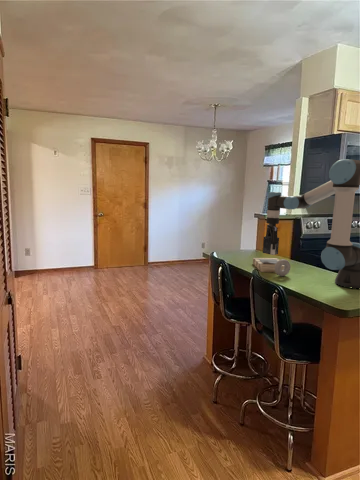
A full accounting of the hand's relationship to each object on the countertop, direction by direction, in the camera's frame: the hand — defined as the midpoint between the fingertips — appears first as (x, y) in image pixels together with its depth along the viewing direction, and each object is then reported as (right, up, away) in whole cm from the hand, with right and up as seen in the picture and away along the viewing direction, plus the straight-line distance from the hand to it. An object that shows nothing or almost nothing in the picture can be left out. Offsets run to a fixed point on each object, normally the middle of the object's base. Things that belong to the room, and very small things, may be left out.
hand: (270, 252), depth 204 cm
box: (0, -1, 0) cm, 1 cm away
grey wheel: (+2, -13, -16) cm, 21 cm away
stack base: (0, -10, +2) cm, 10 cm away
